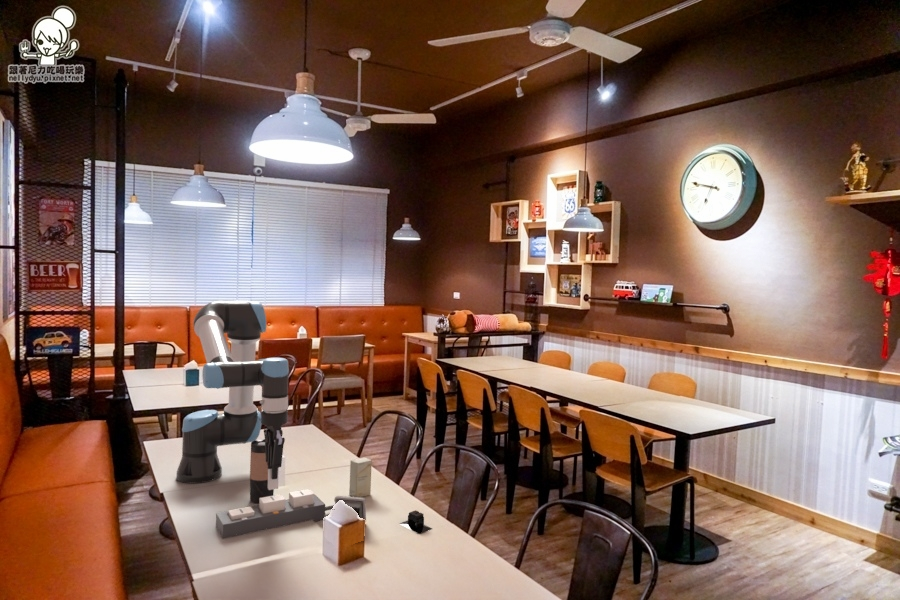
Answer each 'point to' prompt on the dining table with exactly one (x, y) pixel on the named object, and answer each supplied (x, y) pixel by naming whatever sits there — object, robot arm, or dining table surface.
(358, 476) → the skincare box
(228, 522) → the power strip
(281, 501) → the button
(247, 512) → the button
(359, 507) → the electrical switch
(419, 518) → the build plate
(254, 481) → the travel mug
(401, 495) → the dining table surface
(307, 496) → the button
